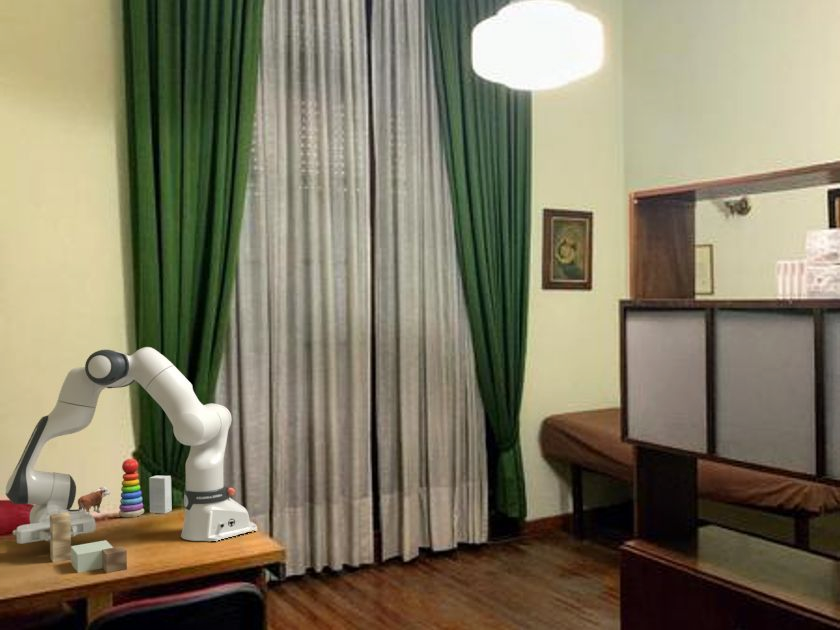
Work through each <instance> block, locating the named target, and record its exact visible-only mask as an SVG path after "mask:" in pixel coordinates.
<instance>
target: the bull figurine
mask: <svg viewBox="0 0 840 630" xmlns="http://www.w3.org/2000/svg"><path fill="white" fill-rule="evenodd" d="M110 494H111V491H110V490H109V489H108V488H107V487H106V486H102V487H99V488H97V489H95V490H93V491H92V492H90V493H87V494H85V495H82V496H80V497H79V498H78V499H77V505H78V509H79V510H80V509H82V510H84V512H85V513H87V514H89V515H91V516H92V517H93V514H91V512H90V509H92V507H93V512H95V513H97V514H100V513H101V511H100V508H101V503H102V501H103V498H104V497H106V496H108V495H110Z"/></svg>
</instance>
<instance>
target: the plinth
mask: <svg viewBox="0 0 840 630" xmlns="http://www.w3.org/2000/svg"><path fill="white" fill-rule="evenodd" d="M109 548H114V546H112V544H110V542H108V540H106V539H105V540H100V541H94V542H89V543H82V544H81V543H80V544H77V545H76V544H75V545H71V559H70V564H71V566H72V567H73V568H74V569H75V571H76V572H77V573H84V572H90V571H94V570H100V569H103V568H102V550H103V549H109Z"/></svg>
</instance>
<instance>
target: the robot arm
mask: <svg viewBox="0 0 840 630" xmlns="http://www.w3.org/2000/svg"><path fill="white" fill-rule="evenodd" d="M135 382H136V383H138V384H139V385H140V386H141V387H142V388H143V389H144V390H145V391H146V392H147V394H149V395H150V397H151V398H152V399H153V400H154V401H155V402H156V403H157V404H158V405H159V406H160V407H161V409H162V410H163V411H164V413H165V415H166V416H167V418H168V419H169V421H170V423H171V425H172V427H173V429H172V430H173V434H174V437H175V439H176V440H177V441H178V442H179V443H180V444H182V445H184V446H189V447H190V449H189V454H188V457H187V459H186V462H185V488H184V490H183V491H184V492H183V493H184V495H183V503H184V505H183V507H184V508H185V510H184V518H183V519H184V520H183V527H182V530H181V534H180V537H181V538H182V539H183V540H186V541H192V542H193V541H194V542H196V541H197V542H211V541H216V542H219V541H218V540H220V541H222V540H221V539H224V538H228V537H232V536H236V535H238V534H242V533H246V532H249V531H252V530H255V531H256V532H258V525H257V524H256V523H254V522H253V521H250V515H249V512H248V510H247V508H246V507H244V506H243V505H241V503H239V502H237V501H236V500H235V499H233V498H231V497H230V496H234V495H235V494H236V489H234V488H233V487H228V486H227V485H224V484H225V483H224V462H225V461H224V460H225V452H226V447H227V443H228V441H227V440H228V434H229V430H230V428H231V426H232V420H233V419H232V413H231V412H230V410H229V409H228V408H227V407H226V406H225V405H223V404H218V403H206V404H203V403H202V402H201V401H200V400H199V399H198V396H197V395H196V393H195V391H194V388H193V384H192V383H191V382H190V381H189V380H188V379H187V378H186V377H185V375H184V374H183V373H182V372H181V371H180V370H179V369H178V368H177V367H176V366H175V365H174V363H172V361H170V360H169V359H168V358H167V357H166V356H165V355H163V354H161V352H159V351H158V350H156V349H155V348H153V347H150V346H145V347H142V348H139V349H137V350H136V351H135V352H133V353H132V354H129V353H125V352H122V351H119V350H114V349H113V350H112V349H100V350H97V351H94V352H93V353H92V354H90V355H89V357H87V359H86V361H85V365H84V367H83V366H80V367H79V366H78V367H75V368H72V369H70V371H69V372H68V373H67V375H66V376H65V378H64V381H63V384H62V385H61V387H60V391H59V393H58V397H57V401H56V404H55V406H54V408H53V409H52V410H51V412H50V413H48V415H45V416H41V418H40V419H39V420H38V422H37V423H36V426H35V427H34V428H33V431H32V434H31V435H30V437H29V439H28V442H27V444H26V445H25V447H24V450H23V451H22V454H21V455H20V458H19V460H18V463H17V465H16V466H15V468H14V470H13V472H12V474H11V475H10V477H9V478H8V481H7V482H6V486H5V495H6V497H7V499H8V500H9V501H10V502H11V503H12V504H14V505H33V506H32V508H31V510H30V512H29V522H30V523H28V524H27V523H26V524H22V525H19V526H17V527H16V529H14V530H13V531H12V534H13V536H15V537H16V543H17V544H19V545H20V544H22V545H23V544H29V543H33V542H34V543H35V542H41V541H45V542H50V540H52V533H50V515H52V514H59V513H65V512H68V513H69V514H70V516H71V538H72V537H74V538H75V537H76V536H78V535H82V534H83V535H84V534H89V533H90V534H91V533H94V532H95V531H96V519H95V517H94V516H93V515H92V516H91V515H89V514H88V513H85V512H84V510H83V508H82V509H80V510H79V508H77V509H72V508H73V505H74V502H75V500H76V499H75V498H76V495H77V485H76V482H75V480H74V479H73V476H72V475H70V474H69V473H62V472H54V471H53V472H50V471H48V472H47V471H41V470H35V469H34V466H35V465H36V462H37V460H38V458H39V456H40V454H41V452H42V450H43V448H44V446H45V444H46V443H47V442H49V441H50V440H52V439H54V438H57V437H61V436H66V435H72V434H75V433H79V432H81V431H82V430H85V429H86V428H87V427H88V426H89V425H91V423H92V421H93V418H94V416H95V413H96V409H97V405H98V402H99V401H98V400H99V398H100V394H101V393H102V391H103V390H105V389H117V388H120V389H121V388H125V387H129V386H130V385H132V384H133V383H135ZM236 537H237V536H236ZM232 538H233V537H232ZM228 539H229V538H228ZM224 540H225V539H224Z"/></svg>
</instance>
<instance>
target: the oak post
mask: <svg viewBox="0 0 840 630" xmlns="http://www.w3.org/2000/svg"><path fill="white" fill-rule="evenodd" d="M50 533H52V540H50V541H49V551H50V552H49V555H50V557H49V558H50V559H51V561H52V563H58V562H64V561H69V560H70V561H71V546H72V537H71V516H70V514H69V513H68V512H65V513H59V514H52V515H50Z"/></svg>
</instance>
